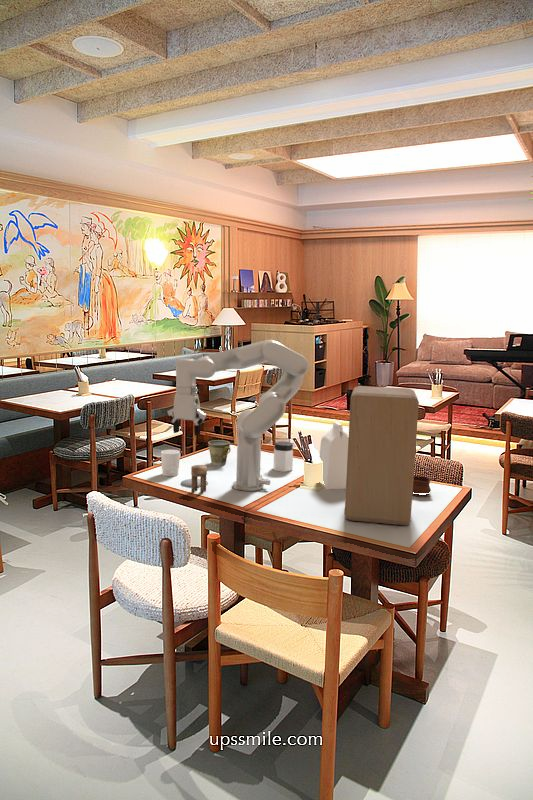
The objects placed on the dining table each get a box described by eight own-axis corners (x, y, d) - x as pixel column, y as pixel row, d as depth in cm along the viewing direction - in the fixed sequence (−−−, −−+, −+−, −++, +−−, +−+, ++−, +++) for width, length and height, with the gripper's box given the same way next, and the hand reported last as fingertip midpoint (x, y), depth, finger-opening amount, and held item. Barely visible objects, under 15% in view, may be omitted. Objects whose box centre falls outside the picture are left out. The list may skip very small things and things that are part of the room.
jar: (272, 466, 282) (272, 441, 280) (289, 466, 284) (290, 441, 282) (275, 472, 274) (276, 445, 272) (293, 471, 275) (294, 445, 273)
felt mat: (211, 481, 257) (211, 480, 257) (203, 488, 246) (203, 487, 246) (185, 478, 259) (185, 477, 259) (177, 486, 248) (177, 485, 248)
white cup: (181, 472, 268) (181, 450, 267) (177, 477, 261) (177, 454, 259) (163, 471, 269) (163, 449, 268) (158, 476, 261) (159, 453, 260)
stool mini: (208, 490, 244) (208, 465, 243) (203, 494, 238) (204, 469, 237) (193, 488, 245) (194, 464, 244) (189, 493, 240) (189, 468, 238)
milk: (317, 481, 262) (319, 420, 258) (342, 479, 265) (345, 420, 261) (326, 489, 250) (329, 426, 246) (353, 488, 253) (356, 425, 249)
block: (410, 528, 209) (419, 396, 202) (343, 522, 213) (350, 393, 206) (407, 507, 231) (415, 388, 224) (347, 502, 235) (353, 384, 228)
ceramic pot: (434, 504, 236) (435, 486, 235) (389, 496, 245) (390, 478, 244) (447, 494, 251) (448, 477, 250) (405, 486, 260) (406, 470, 259)
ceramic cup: (203, 462, 286) (203, 441, 284) (220, 459, 292) (220, 439, 291) (221, 468, 276) (221, 447, 275) (238, 465, 283) (238, 444, 281)
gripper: (210, 390, 239) (210, 434, 242) (173, 387, 247) (174, 429, 250) (199, 393, 233) (200, 437, 235) (162, 390, 240) (163, 433, 243)
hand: (186, 433), depth 242 cm, fingers open, 9 cm apart
